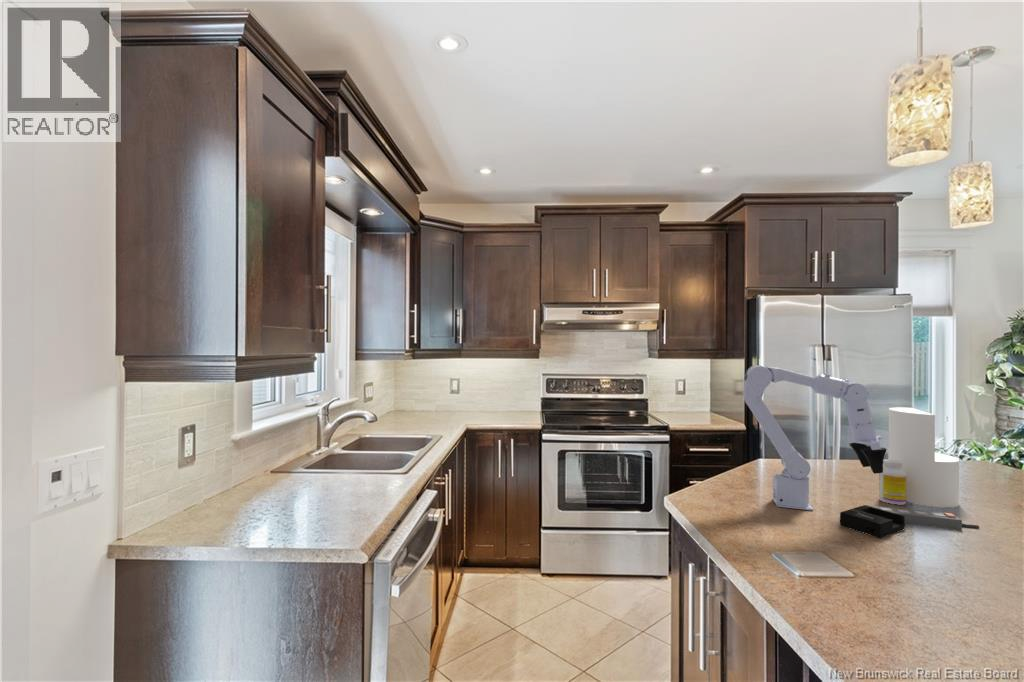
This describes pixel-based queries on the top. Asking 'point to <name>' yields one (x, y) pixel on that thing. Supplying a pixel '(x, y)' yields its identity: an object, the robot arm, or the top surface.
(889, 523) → the battery charger
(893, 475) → the supplement bottle
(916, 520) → the power strip
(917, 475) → the white stepped block
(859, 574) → the top surface
